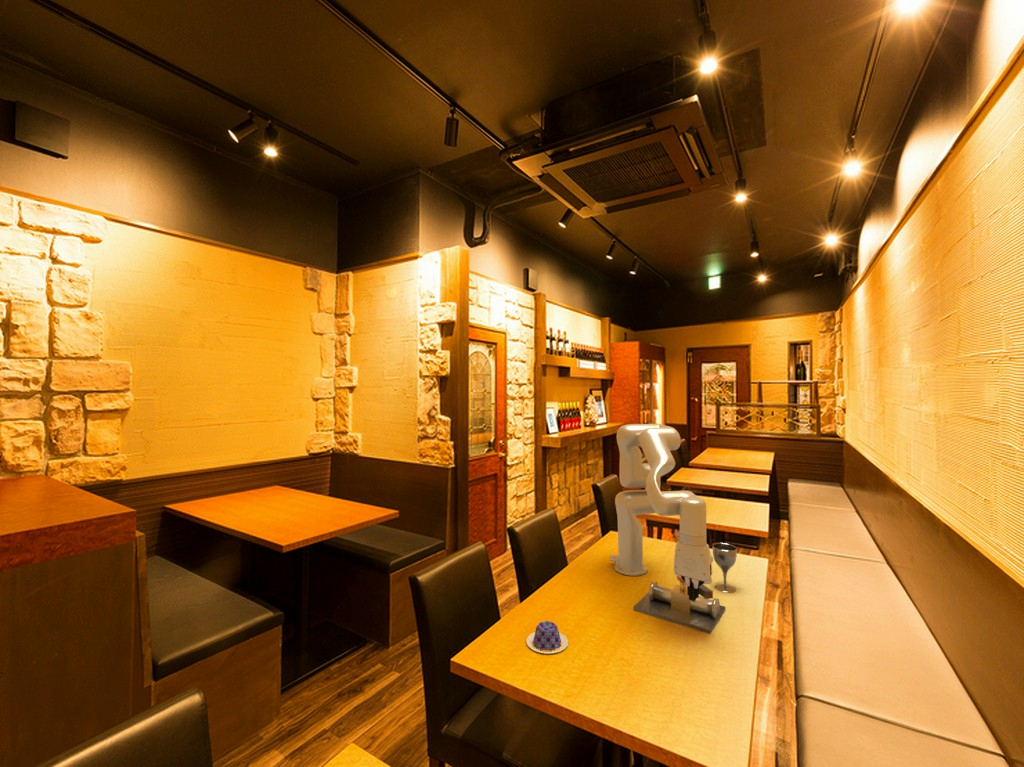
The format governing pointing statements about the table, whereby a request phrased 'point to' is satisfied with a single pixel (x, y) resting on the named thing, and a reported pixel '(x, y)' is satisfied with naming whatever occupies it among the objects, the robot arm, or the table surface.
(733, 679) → the table surface
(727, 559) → the wine glass
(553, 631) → the pudding
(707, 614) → the valve
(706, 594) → the lever
